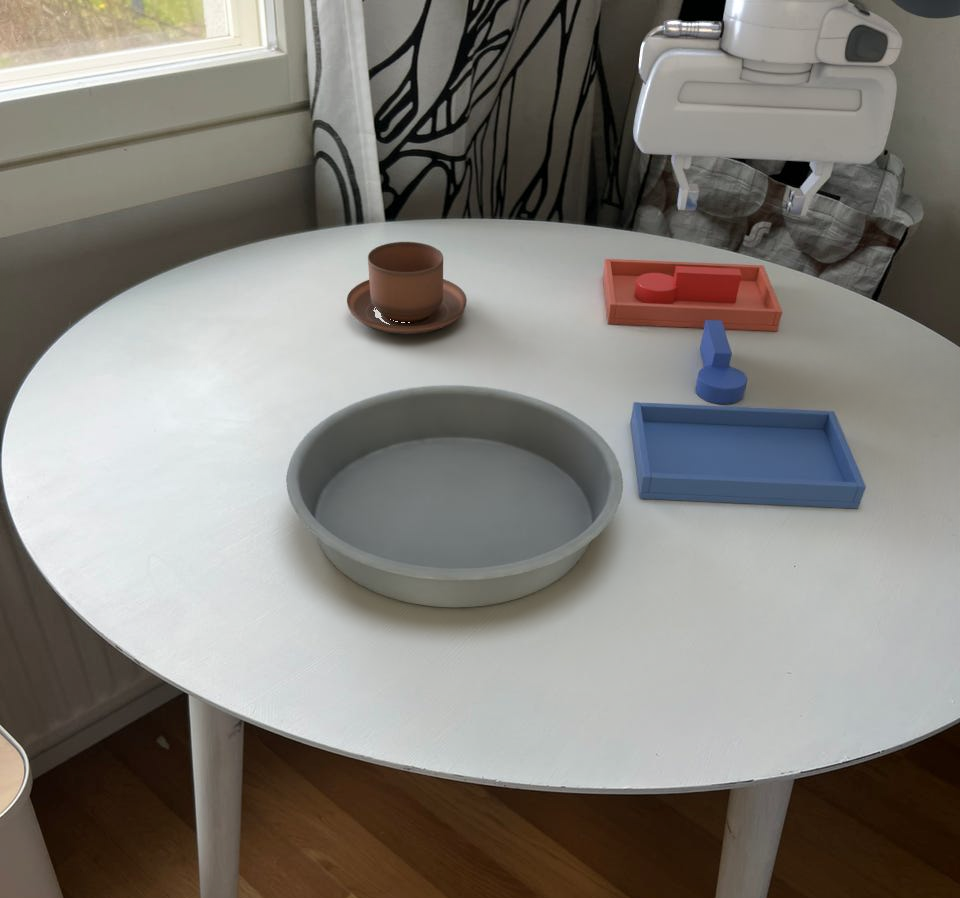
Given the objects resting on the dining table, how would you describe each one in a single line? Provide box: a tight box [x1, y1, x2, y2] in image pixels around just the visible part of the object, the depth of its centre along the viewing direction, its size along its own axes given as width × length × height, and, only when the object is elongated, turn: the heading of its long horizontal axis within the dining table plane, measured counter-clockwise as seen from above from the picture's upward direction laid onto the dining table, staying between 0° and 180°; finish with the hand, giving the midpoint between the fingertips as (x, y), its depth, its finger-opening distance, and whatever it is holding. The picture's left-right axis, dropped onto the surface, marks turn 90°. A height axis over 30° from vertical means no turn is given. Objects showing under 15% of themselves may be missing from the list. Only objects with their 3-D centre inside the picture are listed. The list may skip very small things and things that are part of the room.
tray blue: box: [630, 401, 867, 510], centre depth 78 cm, size 17×11×2 cm, turn 87°
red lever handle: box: [635, 266, 742, 304], centre depth 99 cm, size 10×4×3 cm, turn 87°
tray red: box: [602, 258, 783, 332], centre depth 100 cm, size 17×11×2 cm, turn 87°
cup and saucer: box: [346, 241, 468, 335], centre depth 94 cm, size 12×12×6 cm
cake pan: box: [285, 384, 624, 608], centre depth 71 cm, size 25×25×4 cm
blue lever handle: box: [694, 320, 748, 405], centre depth 88 cm, size 10×4×3 cm, turn 177°
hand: (740, 211), depth 82 cm, fingers open, 8 cm apart
